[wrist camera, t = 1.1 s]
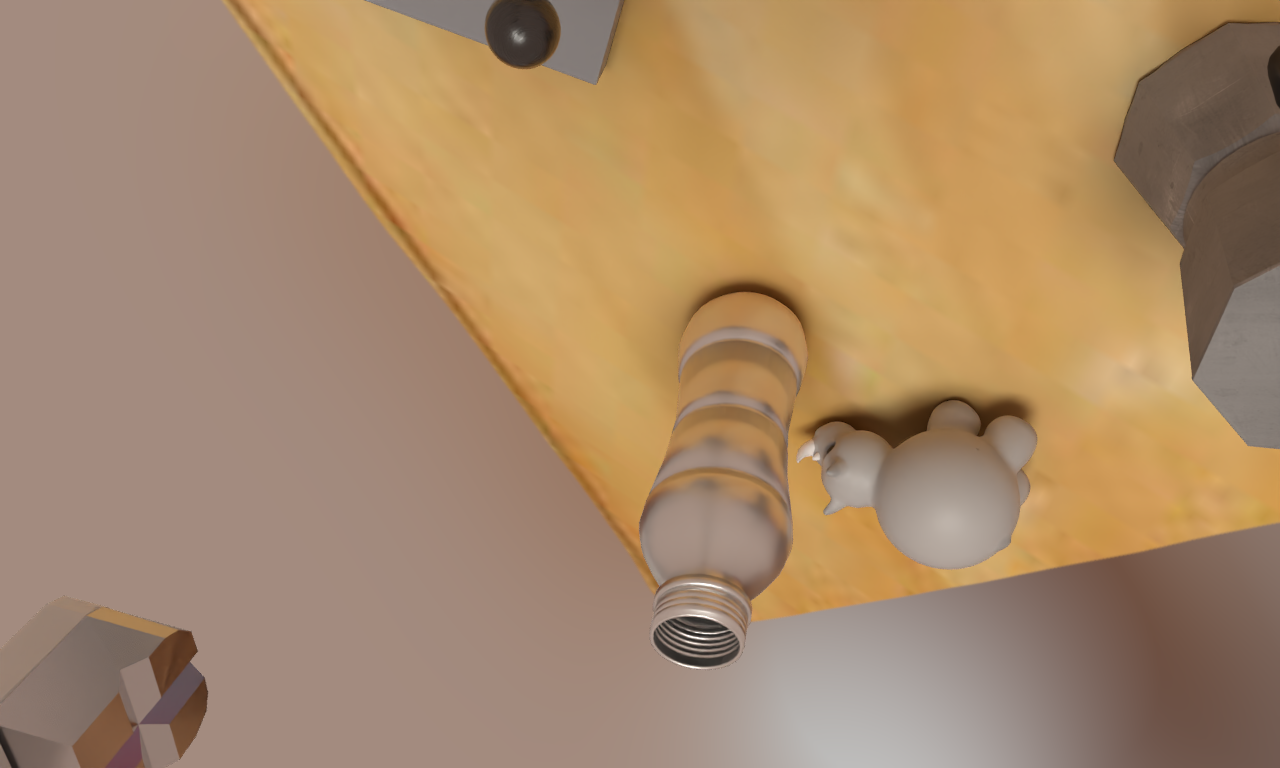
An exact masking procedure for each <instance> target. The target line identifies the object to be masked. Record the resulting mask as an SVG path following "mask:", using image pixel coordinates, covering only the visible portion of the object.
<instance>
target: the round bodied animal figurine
mask: <svg viewBox="0 0 1280 768" xmlns="http://www.w3.org/2000/svg"><path fill="white" fill-rule="evenodd" d="M980 427H981V422H980V418H979V416H978V415H977V413H976V412H975V411H974V409H972V408H971V407H970V406H969V405H968V404H966V403H964V402H961V401H958V400H950V401H946V402H943V403H941V404H939V405H938V406H937V407H936V408H935V409H934V410H933V412H932V414H931V416H930V418H929V421H928V425H927V431H925V432H922V433H919V434H917V435H914V436H912V437H911V438H909V439H907V440H905V441H904V442H903V443H901V444H900V445H899V446H897V447H896V448H895V449H893V448H892V447H891V446H890V445H889V444H888V442H887V441H886V440H885V439H883V438H882V437H881V436H879V435H877V434H875V433H873V432H870V431H865V430H858V431H856V430H855V429H854V428H853V427H852V426H850V425H848V424H846V423H844V422H838V421H835V422H830V423H827V424H825V425H823V426H821V427H819V428H818V429H817V430H816V431H815V435H814V437H813V438H812V439H811V440H809V441H807V442H805V443H804V444H803V445H802V446H801V447H800V448H799V450H798V452H797V463H799V462H800V461H801V460H802V459H803V458H804V457H807V456H813V458H812V459H813V460H815V461H816V460H817V462H818V463H819V464H820V465H821V466H822V474H821V477H822V482H823V485H824V487H825V489H826V490H827V492H828V494H829V495H830V497H831V501H830V503H829V504H828V505H827V507H826V508H825V509H824V511H823V512H824V514H825V515H829V514H833V513H835V512H837V511H839V510H840V509H842V508H844V507H846V506H850V507H856V508H861V507H874V508H875V510H876V513H877V517H878V520H879V523H880V525H881V528H882V529H883V531H884V533H885V535H886V536H887V538H888V539H889V540H890V541H891V543H892V544H893V545H894V546H895V547H896V548H897V549H898V550H899V551H900V552H902V553H903V554H904V555H906V556H907V557H909V558H910V559H912V560H914V561H916V562H918V563H920V564H923V565H926V566H929V567H933V568H938V569H961V568H967V567H971V566H974V565H976V564H979V563H981V562H983V561H985V560H987V559H989V558H990V557H992V556H993V555H994V554H996V553H997V552H998V551H1000V550H1002V549H1004V548H1006V547H1007V546H1008V545H1009V544H1010V543H1011V535H1012V533H1013V531H1014V529H1015V527H1016V524H1017V521H1018V517H1019V513H1020V506H1021V505H1022V504H1023V503H1024V502H1025V500H1026V499H1027V497H1028V495H1029V492H1030V482H1029V479H1028V477H1027V476H1026V474H1025V473H1024V472H1023V471H1022V470H1021V468H1022V467H1023V466H1024V465H1025V464H1026V463H1027V462H1028V461H1029V459H1030V458H1031V456H1032V455H1033V453H1034V451H1035V448H1036V445H1037V434H1036V432H1035V430H1034V429H1033V427H1032V426H1031V425H1030V424H1029V423H1027V422H1026V421H1024V420H1023V419H1021V418H1018V417H1016V416H1010V415H1006V416H1001V417H998V418H996V419H995V420H993V421H992V422H991V423H990V424H989V425H988V426H987V428H986V430H985V433H984V435H983V436H981V437H978V436H977V435H978V433H979V430H980Z"/></svg>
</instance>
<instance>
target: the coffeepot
mask: <svg viewBox="0 0 1280 768" xmlns="http://www.w3.org/2000/svg"><path fill="white" fill-rule="evenodd" d="M1114 162H1115V163H1116V164H1117V165H1118V167H1119V168H1120V169H1121V170H1122V172H1123V173H1124V174H1125V176H1126V177H1127V178H1128V179H1129V181H1130V182H1131V183H1132V184H1133V186H1134V187H1135V188H1136V189H1137V191H1138V192H1139V193H1140V195H1141V196H1142V197H1143V198H1144V200H1145V201H1146V202H1147V203H1148V205H1149V206H1150V207H1151V208H1152V210H1153V211H1154V212H1155V213H1156V215H1157V216H1158V217H1159V218H1160V220H1161V221H1162V222H1163V223H1164V224H1165V226H1166V227H1167V228H1168V229H1169V230H1170V232H1171V233H1172V234H1173V235H1174V237H1175V238H1176V239H1177V240H1178V242H1179V243H1180V244H1181V245H1182V247H1183V248H1184V252H1183V255H1182V258H1181V261H1180V269H1181V279H1182V288H1183V297H1184V306H1185V315H1186V324H1187V333H1188V342H1189V352H1190V361H1191V370H1192V380H1193V382H1194V383H1195V384H1196V385H1197V386H1198V387H1199V389H1200V390H1201V391H1202V392H1203V393H1204V394H1205V396H1206V397H1207V398H1208V399H1209V400H1210V402H1211V403H1212V404H1213V405H1214V406H1215V407H1216V409H1217V410H1218V411H1219V412H1220V413H1221V415H1222V416H1223V417H1224V418H1225V419H1226V420H1227V422H1228V423H1229V424H1230V425H1231V426H1232V428H1233V429H1234V430H1235V431H1236V432H1237V433H1238V435H1239V436H1240V437H1241V438H1242V439H1243V440H1244V442H1245V443H1246V444H1247V445H1248V446H1254V447H1264V448H1274V449H1280V23H1278V22H1268V23H1251V24H1241V23H1228V24H1226V25H1224V26H1222V27H1221V28H1219V29H1217V30H1216V31H1214V32H1212V33H1210V34H1209V35H1207V36H1205V37H1204V38H1202V39H1200V40H1198V41H1196V42H1195V43H1193V44H1191V45H1189V46H1188V47H1186V48H1184V49H1182V50H1181V51H1179V52H1178V53H1177V54H1175V55H1174V56H1173V57H1172V58H1170V59H1169V60H1168V61H1166V62H1165V63H1164V64H1163V65H1161V66H1160V67H1159V68H1158V70H1157V71H1155V72H1153V73H1152V74H1150V75H1149V76H1147V77H1146V78H1144V79H1143V80H1141V81H1140V82H1139V84H1138V87H1137V90H1136V93H1135V96H1134V99H1133V102H1132V104H1131V107H1130V109H1129V111H1128V113H1127V116H1126V118H1125V122H1124V126H1123V131H1122V136H1121V140H1120V143H1119V146H1118V149H1117V152H1116V156H1115V159H1114Z"/></svg>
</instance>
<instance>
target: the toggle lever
mask: <svg viewBox="0 0 1280 768" xmlns="http://www.w3.org/2000/svg"><path fill="white" fill-rule="evenodd" d="M485 36H486V40H487V43H488V45H489V47H490V49H491V51H492V52H493V53H494V55H495V56H496V57H497V58H498V59H499V60H500V61H502V62H503V63H505V64H506V65H508V66H511V67H514V68H518V69H531V68H535V67H538V66H540V65H542V64H544V63H545V62H546V61H548V60H549V59H550V58H551V56H552V55H553V54H554V52H555V51H556V49H557V47H558V44H559V41H560V36H561V25H560V20H559V16H558V14H557V12H556V10H555V8H554V6H553V5H552V4H551V2H550V1H549V0H494V2H493V3H492V4H491V6H490V8H489V10H488V12H487V14H486V18H485Z"/></svg>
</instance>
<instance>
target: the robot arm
mask: <svg viewBox="0 0 1280 768" xmlns="http://www.w3.org/2000/svg"><path fill="white" fill-rule="evenodd" d="M197 652H198V650H197V647H196V644H195V641H194V638H193V635H192V632H191V631H188V630H184V629H181V628H177V627H173V626H170V625H166V624H163V623H159V622H156V621H152V620H148V619H145V618H141V617H138V616H134V615H131V614H127V613H123V612H120V611H116V610H113V609H110V608H108V607H104V606H101V605H97V604H94V603H90V602H86V601H82V600H79V599H75V598H71V597H67V596H63V597H61V598H58V599H56V600H54V601H52V602H50V603H48V604H46V605H45V606H44V607H43V608H42V609H41V610H40V611H39V612H38V613H37V614H36V615H35V616H34V617H33V618H32V619H31V620H29V621H28V622H27V623H26V624H25V625H24V626H23V627H22V628H21V629H20V630H19V631H18V632H17V633H16V634H15V635H14V636H13V637H12V638H11V639H10V640H9V641H8V642H7V643H6V644H5V645H4V646H3V647H2V648H1V649H0V768H165V767H167V766H169V765H171V764H173V763H174V762H176V761H178V760H180V759H181V757H182V756H183V754H184V753H185V751H186V750H187V749H188V747H189V746H190V744H191V743H192V741H193V740H194V739H195V737H196V735H197V733H198V730H199V728H200V725H201V723H202V721H203V718H204V716H205V713H206V710H207V698H208V690H207V685H206V681H205V677H204V676H202V674H201V673H200V672H199V671H198V670H197V669H196V668H195V667H194V666H193V665H192V664H191V662H190V661H191V659H192V658H193V657H194V655H195V654H196V653H197Z"/></svg>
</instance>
